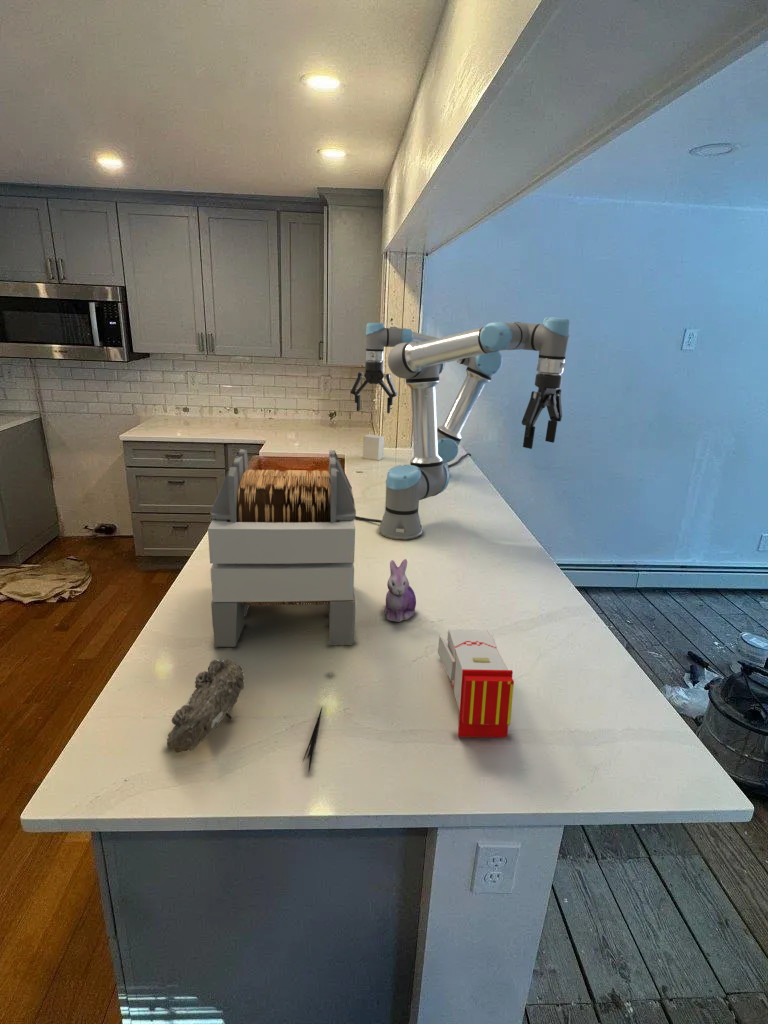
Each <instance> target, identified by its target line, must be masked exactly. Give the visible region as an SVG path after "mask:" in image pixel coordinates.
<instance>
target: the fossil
mask: <svg viewBox="0 0 768 1024" xmlns="http://www.w3.org/2000/svg"><path fill="white" fill-rule="evenodd" d="M243 670H244V669H243V667H242V665H240V664H237V662H236V661H235V660H234V659H232V658H231V659H227V658H226V659H224V660H223V661H222V660H217V659H212V660H211V661H210V663H209V665H208V666H207V671H201V672H199V673H198V674H197V675H196V676H195V680H194V684H195V685H194V687H195V689H194V690H193V693H192V694H191V697H190V698H189V700H188V704H184V705H182V706H181V707H180V709H177V710H176V711H175V713H174V715H173V716H172V718H171V723H172V724H173V727H172V730H171V731H170V732H168V734H167V738H166V741H167V742H166V745H167V749H168V750H169V751H173V752H174V753H176V754H178V753H182V752H188V751H189V752H192V751H193V750H195V748H196V747H197V746H199V744H200V743H201V742H203V741H204V740H205V739H206V738H207V737H208V736H209V735H210V734H211V733H212V732H214V730H215V729H217V727H218V726H219V724H220V722H221V721H222V720H223V719H224V718H225V716H226V717H227V719H229V720H233V717H232V715H230V714H229V710H230V709H231V708H234V706H235V704H236V703H237V702H238V699H239V697H240V695H241V693H242V691H243V690H245V689H244V688H245V675H244V671H243Z"/></svg>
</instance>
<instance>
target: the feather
mask: <svg viewBox="0 0 768 1024" xmlns="http://www.w3.org/2000/svg"><path fill="white" fill-rule="evenodd" d="M329 675H330V676H331V675H332V674H331V673H330V674H329ZM322 710H323V707H321V708H320V710H319V713H318V716H317V719H316V723H315V725H314V728H313V731H312V733H311V737H310V739H309V742H308V745H307V748H306V751H305V754H304V757H303V760H302V763H301V767H302V765H303V763H304V761H305V758H308V759H309V760H308V762H307V763H308V764H307V766H308V771H310V770H311V766H312V765H311V764H312V760H313V757H315V756H314V755H315V751H316V749H315V746H317V739H318V733H319V729H320V722H321V717H322V712H323V711H322ZM313 754H314V755H313ZM306 755H307V757H306Z"/></svg>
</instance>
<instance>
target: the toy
mask: <svg viewBox="0 0 768 1024" xmlns="http://www.w3.org/2000/svg"><path fill="white" fill-rule="evenodd" d="M446 640H447V643H446V641H445V639H444V636H443V635H442V634H439V637H438V646H437V656H438V657H439V659H440V661H441V663H442V666H443V668H444V670H445V672H446V674H447V677H448V679H449V681H450V684H451V687H452V690H453V693H454V697H455V701H456V705H457V708H458V711H459V714H458V715H459V716H458V730H457V731H458V732H457V737H458V738H508V731H509V726H510V725H511V717H512V707H513V697H514V696H513V695H514V684H515V680H514V679H513V673H514V671H513V670H512V669H508V667H507V665H506V662H505V661H504V659H503V658H502V655H501V653H500V651H499V649H498V647H497V643H496V639H495V637H494V635H493V634H491V632H490V631H489V629H467V628H466V629H465V628H463V629H461V628H460V629H459V628H448V630H447V639H446Z"/></svg>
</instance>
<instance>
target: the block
mask: <svg viewBox="0 0 768 1024" xmlns="http://www.w3.org/2000/svg"><path fill="white" fill-rule="evenodd" d="M362 439H363V441H362V443H363V444H362V458H363V459H367V460H373V461H380V460H382V459H384V452H385V451H384V450H385V447H384V446H385V436H383V435H376V434H371V433H368V434H366V435H363V437H362Z"/></svg>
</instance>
